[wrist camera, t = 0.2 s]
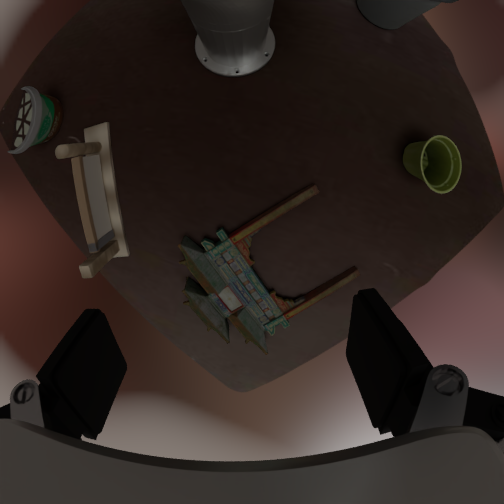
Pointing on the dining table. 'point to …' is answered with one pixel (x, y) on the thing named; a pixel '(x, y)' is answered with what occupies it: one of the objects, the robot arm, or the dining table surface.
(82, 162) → the panel
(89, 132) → the gate frame
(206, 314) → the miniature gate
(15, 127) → the food container
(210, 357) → the dining table surface
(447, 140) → the plant pot
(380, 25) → the water bottle
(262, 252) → the dining table surface
